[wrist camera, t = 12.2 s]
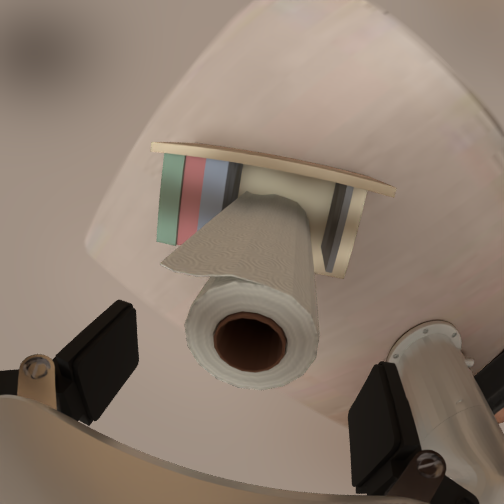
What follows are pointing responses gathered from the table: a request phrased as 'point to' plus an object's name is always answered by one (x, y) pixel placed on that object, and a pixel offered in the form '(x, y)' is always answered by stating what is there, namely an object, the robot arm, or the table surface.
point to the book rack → (263, 183)
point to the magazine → (493, 383)
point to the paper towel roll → (252, 293)
